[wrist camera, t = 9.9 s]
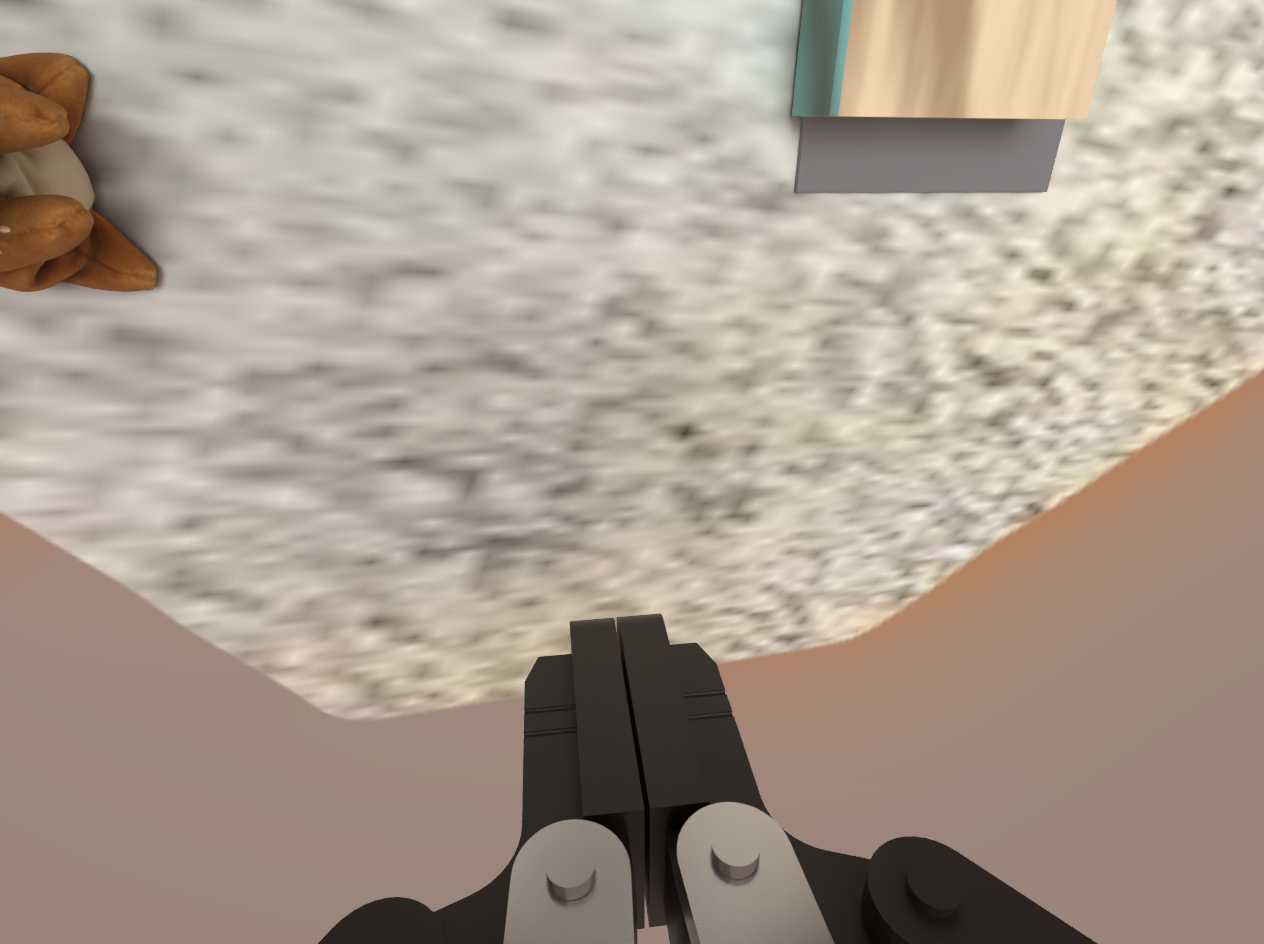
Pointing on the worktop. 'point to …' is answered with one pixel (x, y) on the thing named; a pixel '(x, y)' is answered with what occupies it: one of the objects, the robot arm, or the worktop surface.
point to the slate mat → (926, 154)
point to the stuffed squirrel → (54, 186)
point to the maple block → (950, 58)
